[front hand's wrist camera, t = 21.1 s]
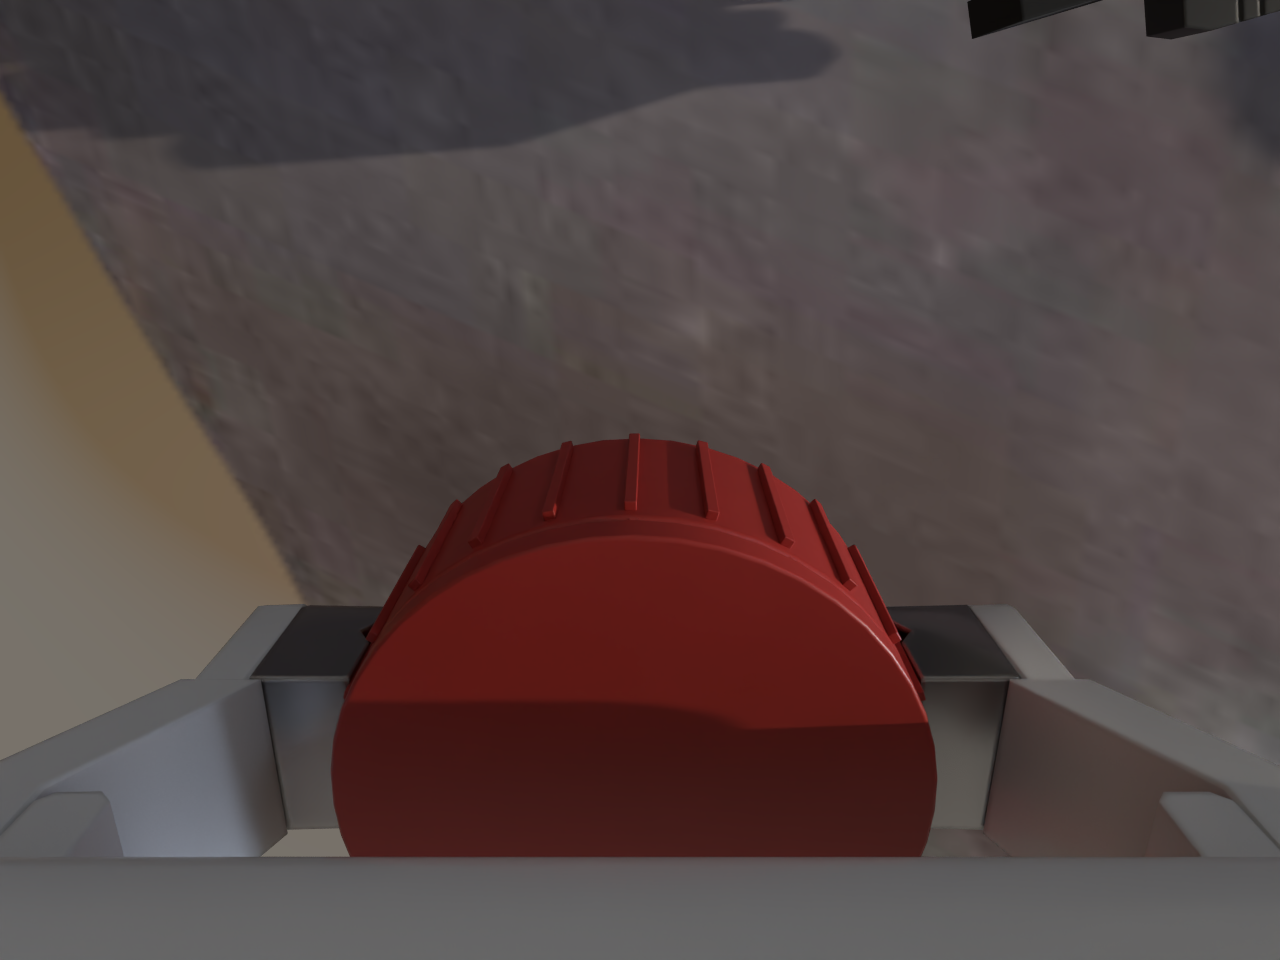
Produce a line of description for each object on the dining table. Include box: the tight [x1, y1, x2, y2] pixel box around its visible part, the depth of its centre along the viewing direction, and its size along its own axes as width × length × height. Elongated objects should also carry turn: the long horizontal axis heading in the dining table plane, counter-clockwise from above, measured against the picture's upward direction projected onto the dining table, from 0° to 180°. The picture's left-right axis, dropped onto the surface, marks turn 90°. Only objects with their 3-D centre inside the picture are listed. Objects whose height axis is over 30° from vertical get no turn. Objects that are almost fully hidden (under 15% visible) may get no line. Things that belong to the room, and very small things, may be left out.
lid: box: [331, 434, 937, 857], centre depth 9 cm, size 6×6×2 cm
